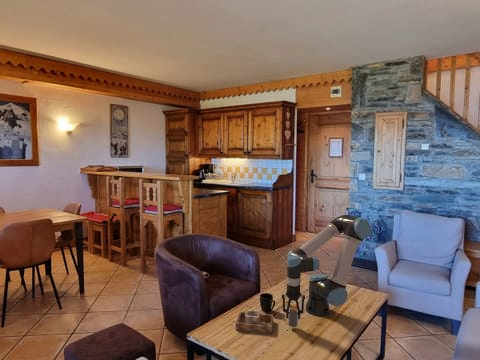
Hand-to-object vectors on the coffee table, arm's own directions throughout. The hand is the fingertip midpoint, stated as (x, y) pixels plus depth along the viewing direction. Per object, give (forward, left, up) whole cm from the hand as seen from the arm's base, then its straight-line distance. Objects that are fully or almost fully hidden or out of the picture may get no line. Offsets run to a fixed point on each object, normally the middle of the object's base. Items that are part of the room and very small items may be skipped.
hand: (293, 323), depth 184 cm
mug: (+16, -18, -3) cm, 24 cm away
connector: (0, 0, -1) cm, 1 cm away
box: (+22, +1, -3) cm, 22 cm away
